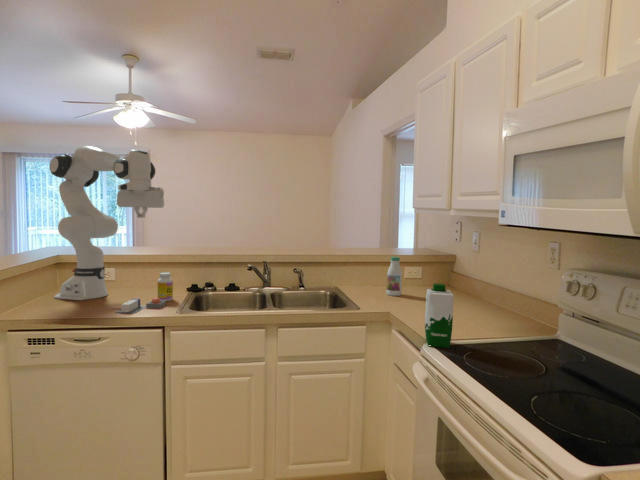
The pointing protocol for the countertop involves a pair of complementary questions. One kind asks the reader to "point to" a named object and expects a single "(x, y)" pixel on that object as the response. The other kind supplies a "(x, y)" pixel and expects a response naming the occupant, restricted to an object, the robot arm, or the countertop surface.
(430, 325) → the milk carton
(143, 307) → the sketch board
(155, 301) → the button
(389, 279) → the milk bottle
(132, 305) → the grey rectangular bar
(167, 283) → the supplement bottle
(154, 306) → the button collar
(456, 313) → the countertop surface
